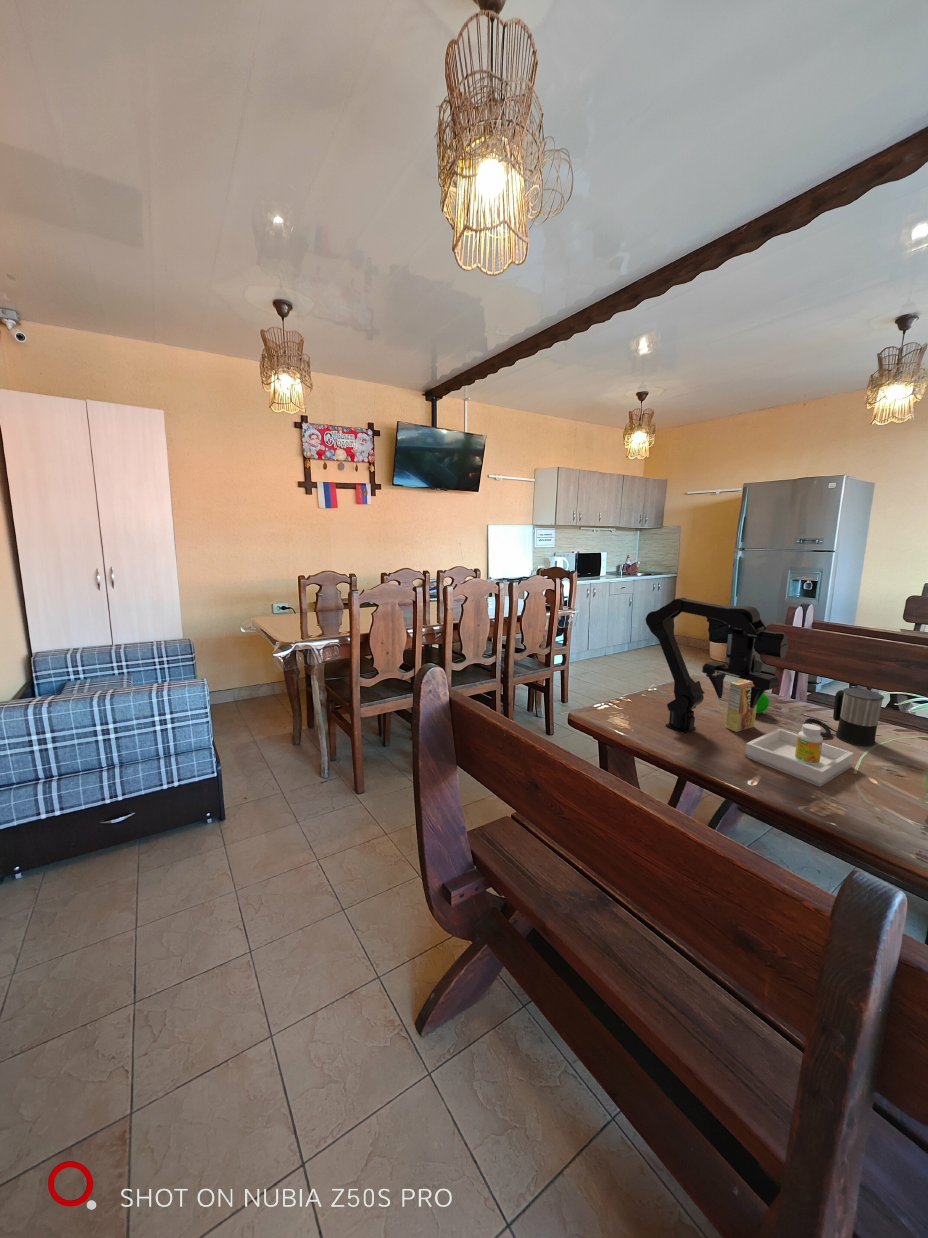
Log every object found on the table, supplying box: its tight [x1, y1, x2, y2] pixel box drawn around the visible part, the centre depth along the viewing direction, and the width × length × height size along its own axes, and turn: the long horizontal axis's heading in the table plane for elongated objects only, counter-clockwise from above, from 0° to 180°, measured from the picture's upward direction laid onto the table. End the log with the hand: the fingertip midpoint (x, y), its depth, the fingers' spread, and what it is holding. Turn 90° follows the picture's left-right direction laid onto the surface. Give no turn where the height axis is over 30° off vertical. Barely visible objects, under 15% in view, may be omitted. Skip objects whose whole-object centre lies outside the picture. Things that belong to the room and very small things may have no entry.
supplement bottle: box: [795, 723, 824, 765], centre depth 122 cm, size 5×5×10 cm
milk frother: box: [803, 687, 885, 747], centre depth 137 cm, size 14×16×15 cm
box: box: [744, 727, 855, 788], centre depth 124 cm, size 18×18×4 cm
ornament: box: [756, 692, 770, 714], centre depth 156 cm, size 8×8×10 cm
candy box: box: [725, 679, 757, 733], centre depth 144 cm, size 9×4×15 cm, turn 116°
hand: (735, 703), depth 132 cm, fingers open, 9 cm apart
